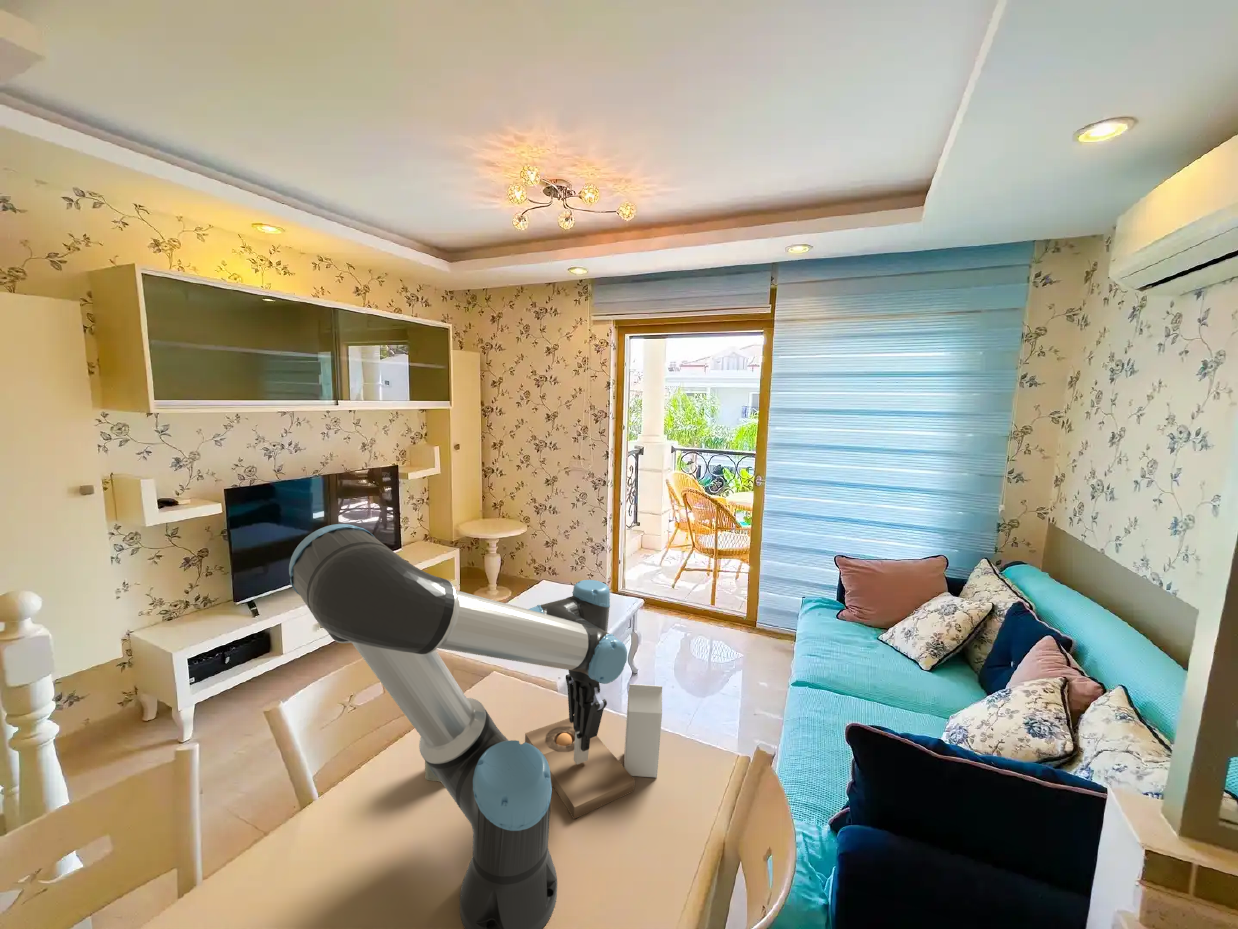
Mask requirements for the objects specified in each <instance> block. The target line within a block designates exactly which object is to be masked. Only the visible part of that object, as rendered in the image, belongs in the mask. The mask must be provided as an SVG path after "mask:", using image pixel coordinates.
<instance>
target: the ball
mask: <svg viewBox="0 0 1238 929" xmlns="http://www.w3.org/2000/svg"><path fill="white" fill-rule="evenodd" d="M556 744H558V745H561V746H568V745H570V744H572V738H571V736H570V735H569V734H567V733H562V734H560V735H559V736H558V737H557V740H556Z"/></svg>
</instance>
